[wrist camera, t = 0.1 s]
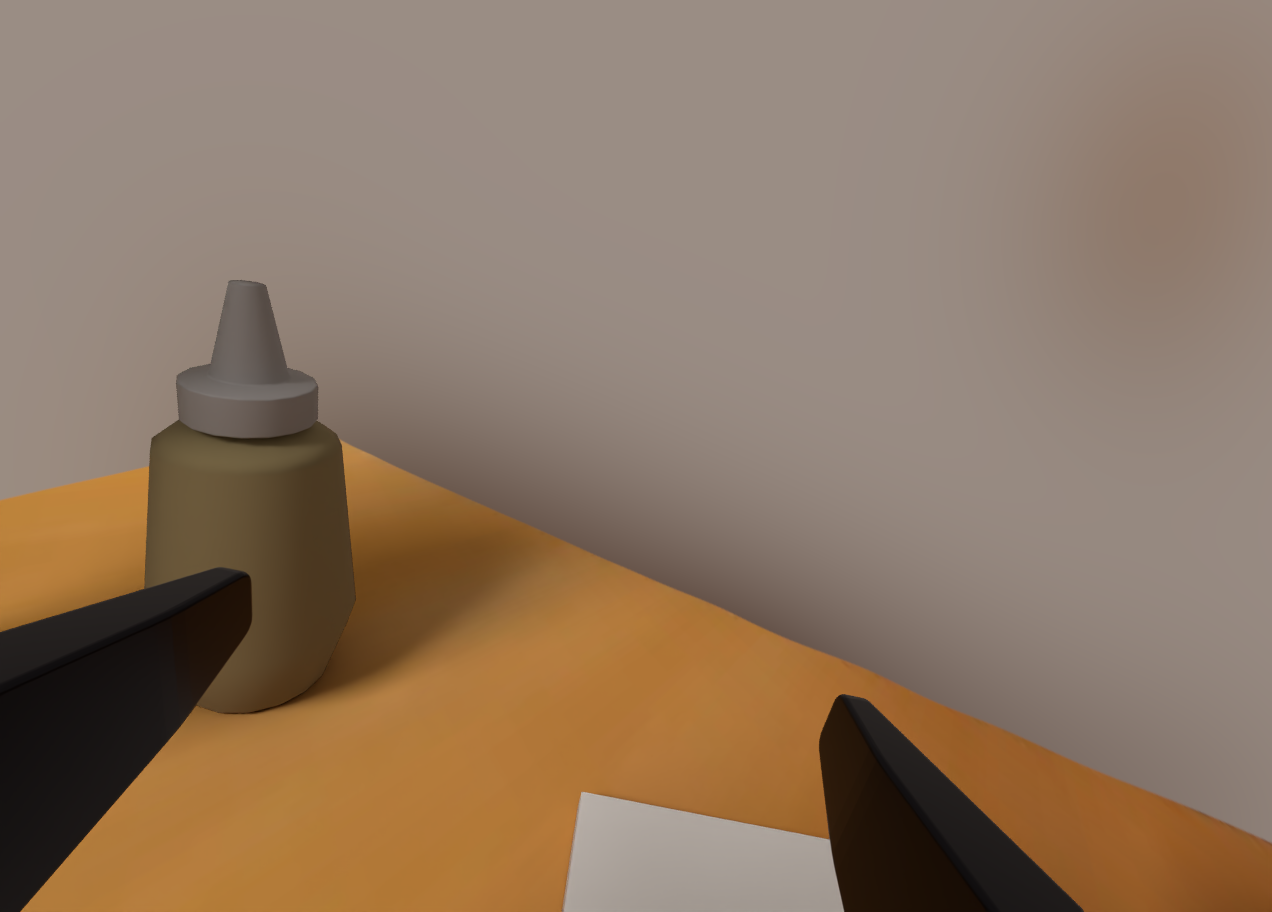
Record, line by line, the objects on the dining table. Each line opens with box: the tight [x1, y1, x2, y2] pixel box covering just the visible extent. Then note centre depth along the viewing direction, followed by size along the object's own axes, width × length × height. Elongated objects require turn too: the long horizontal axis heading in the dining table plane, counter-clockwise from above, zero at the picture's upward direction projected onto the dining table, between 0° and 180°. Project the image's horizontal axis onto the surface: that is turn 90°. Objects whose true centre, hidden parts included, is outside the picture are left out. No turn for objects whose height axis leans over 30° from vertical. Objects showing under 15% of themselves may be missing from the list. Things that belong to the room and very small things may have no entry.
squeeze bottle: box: [144, 280, 356, 713], centre depth 25 cm, size 8×8×18 cm
